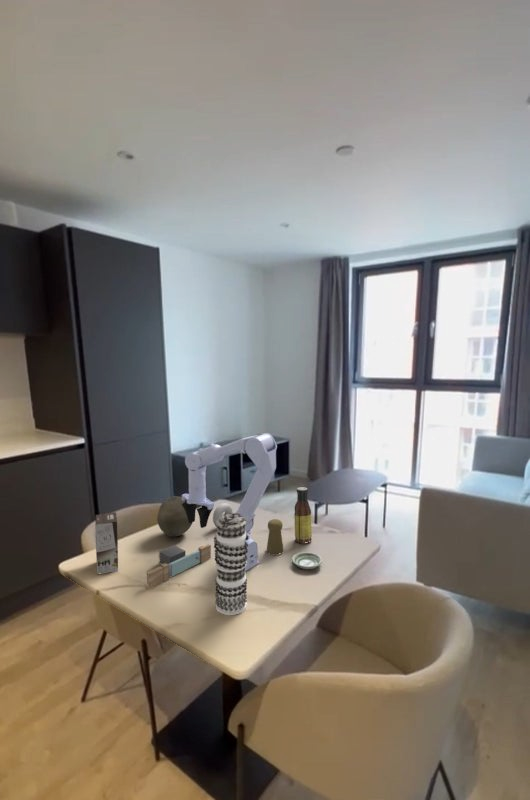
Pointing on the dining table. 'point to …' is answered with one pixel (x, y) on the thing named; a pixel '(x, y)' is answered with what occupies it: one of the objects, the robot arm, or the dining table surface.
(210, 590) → the dining table surface
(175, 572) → the light blue bar
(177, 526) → the cantaloupe
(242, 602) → the decorative candle
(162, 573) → the tan wooden flat bar
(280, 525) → the cork
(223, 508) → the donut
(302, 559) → the saucer
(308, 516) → the sauce bottle
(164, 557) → the doorstop
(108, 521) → the coffee box
